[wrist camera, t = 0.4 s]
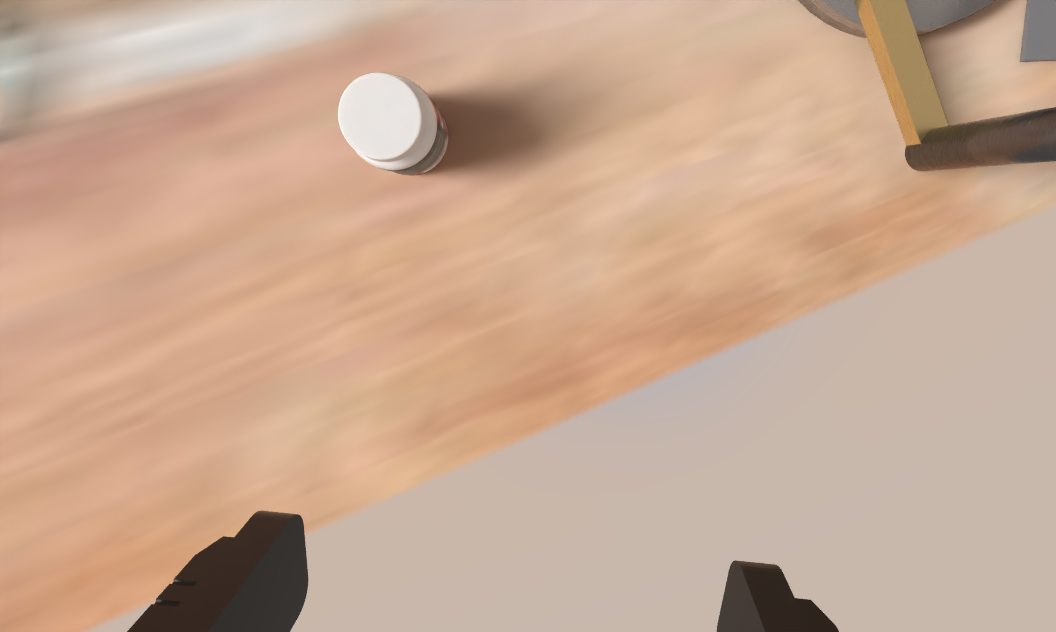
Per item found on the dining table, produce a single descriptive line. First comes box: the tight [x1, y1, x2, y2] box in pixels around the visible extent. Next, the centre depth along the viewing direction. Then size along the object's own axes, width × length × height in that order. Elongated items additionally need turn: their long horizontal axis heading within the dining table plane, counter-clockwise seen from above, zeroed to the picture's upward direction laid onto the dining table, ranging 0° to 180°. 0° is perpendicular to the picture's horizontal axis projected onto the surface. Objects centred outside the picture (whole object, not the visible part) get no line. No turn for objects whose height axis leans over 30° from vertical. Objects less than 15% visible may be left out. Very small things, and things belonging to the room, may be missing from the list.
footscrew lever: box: [854, 0, 1056, 171], centre depth 26 cm, size 15×4×14 cm, turn 28°
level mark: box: [1020, 0, 1056, 62], centre depth 35 cm, size 4×4×1 cm
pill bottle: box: [338, 73, 448, 175], centre depth 31 cm, size 5×5×8 cm
